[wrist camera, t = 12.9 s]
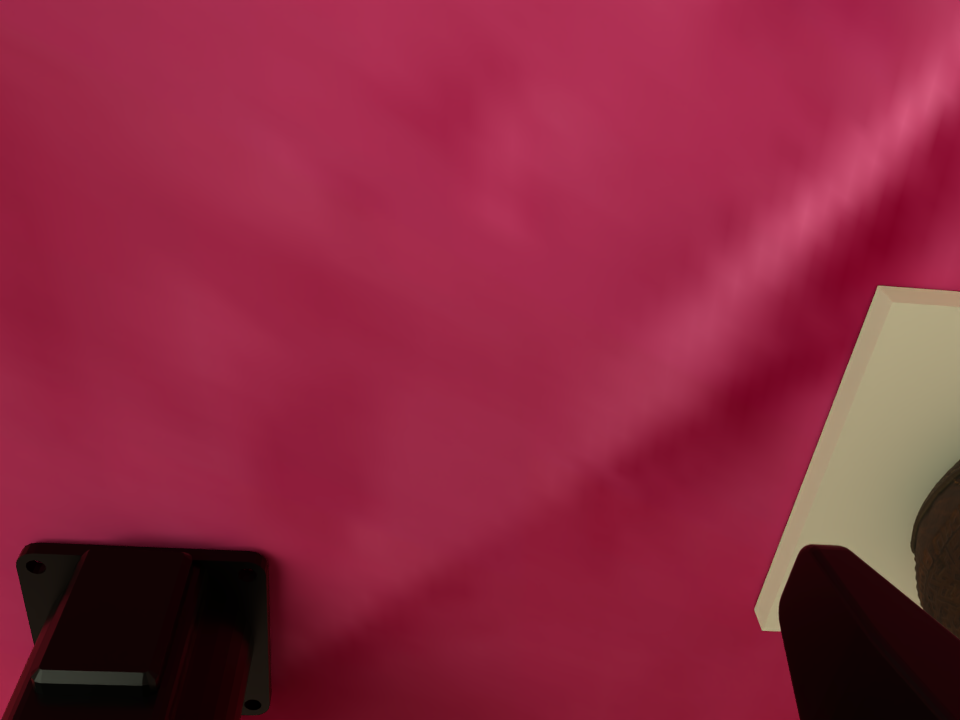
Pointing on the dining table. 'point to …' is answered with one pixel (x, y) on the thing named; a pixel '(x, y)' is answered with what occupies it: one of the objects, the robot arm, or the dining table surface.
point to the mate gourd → (939, 551)
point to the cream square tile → (880, 442)
